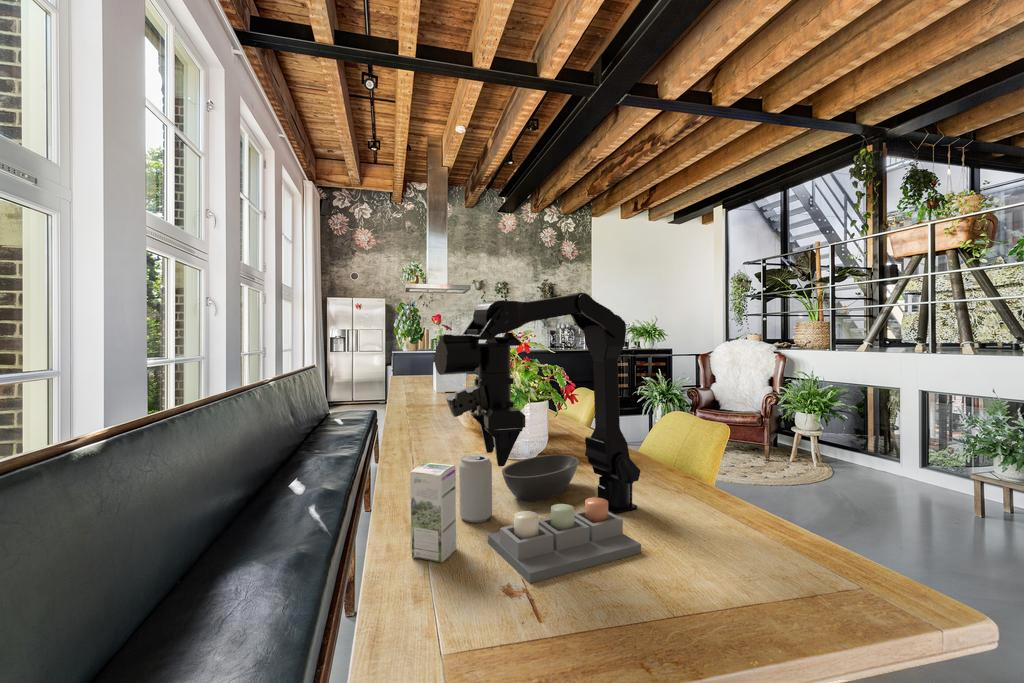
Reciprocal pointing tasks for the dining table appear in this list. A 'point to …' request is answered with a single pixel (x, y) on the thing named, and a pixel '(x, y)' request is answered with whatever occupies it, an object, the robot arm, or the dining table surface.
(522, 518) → the cream button
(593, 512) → the rust button
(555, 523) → the sage button
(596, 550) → the panel
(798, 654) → the dining table surface
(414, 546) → the syrup box
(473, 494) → the beverage can
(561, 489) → the bowl
